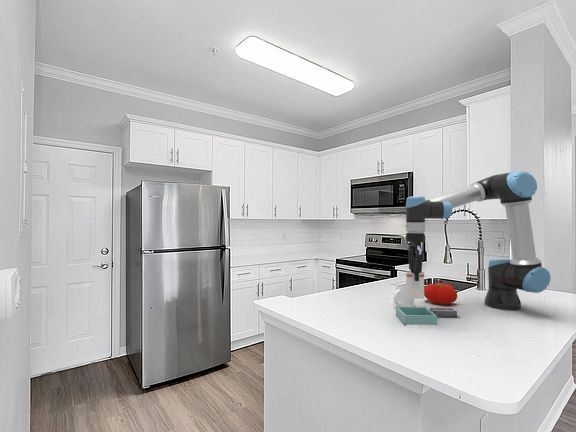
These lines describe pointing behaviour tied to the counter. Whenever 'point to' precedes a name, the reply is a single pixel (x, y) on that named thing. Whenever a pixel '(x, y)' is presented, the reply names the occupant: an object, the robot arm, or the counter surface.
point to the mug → (402, 297)
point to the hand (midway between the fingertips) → (415, 287)
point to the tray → (416, 315)
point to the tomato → (440, 293)
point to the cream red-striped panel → (414, 292)
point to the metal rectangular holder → (444, 312)
